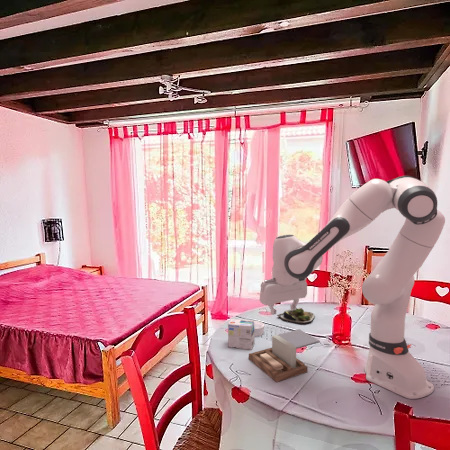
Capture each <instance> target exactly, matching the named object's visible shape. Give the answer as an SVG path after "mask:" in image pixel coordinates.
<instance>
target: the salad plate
mask: <svg viewBox="0 0 450 450" xmlns="http://www.w3.org/2000/svg"><path fill="white" fill-rule="evenodd" d="M276 316H277V317H279V318H280V319H281V320H282V321H283V322H286V323H291V324H296V325H308V324H311V323H312V322H313V320H314V319H315V313H313V312H311V311H305V309H304V308H303V307H298V308H297V307H296V310H291V309H285V310H284V312H283V313H279V314H276Z"/></svg>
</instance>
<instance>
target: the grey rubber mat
mask: <svg viewBox="0 0 450 450" xmlns="http://www.w3.org/2000/svg"><path fill="white" fill-rule="evenodd" d="M277 335H278V336H280V337H282V338H283V339H285V340H286V341H288V342H289V343H291V344H293V345H294V346H296V350H297V349H301V348H304V347H307V346H310V345H311V346H312V345H313V344H317V343H320V340H319V339H317V338H315V337H314V336H312V335H310V334H308V333H307V332H305V331H303V330H302V329H296V330H291V331H287V332H283V333H279V334H277Z"/></svg>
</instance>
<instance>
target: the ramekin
mask: <svg viewBox="0 0 450 450" xmlns="http://www.w3.org/2000/svg"><path fill="white" fill-rule="evenodd" d="M264 329H265V324H264V322H262V321H259V320H254V335H255V337H260V336H263V334H264V332H265V331H264Z"/></svg>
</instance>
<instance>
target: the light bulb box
mask: <svg viewBox="0 0 450 450" xmlns="http://www.w3.org/2000/svg"><path fill="white" fill-rule="evenodd" d="M254 321H255V319H254V320H251V319H237V318H231V319H230V320H229V322H228V323H227V338H228V339H227V340H228V341H227V343H228V346H229V347H228V346H227V347H228V348H232V347H236V348H235V349H241V348H242V349H243V350H249V351H250V350H252V349H253V348H254V346H255V345H256V344H255V341H256V340H255V337H256V336H255V335H254ZM242 349H241V350H242Z"/></svg>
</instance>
